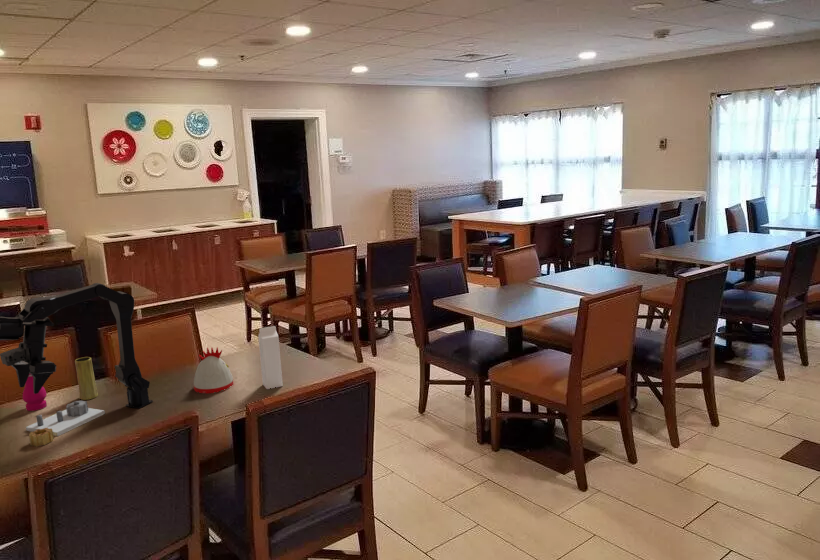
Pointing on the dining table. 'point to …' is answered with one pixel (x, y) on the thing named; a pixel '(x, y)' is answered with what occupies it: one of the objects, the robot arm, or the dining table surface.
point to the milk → (270, 357)
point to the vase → (86, 378)
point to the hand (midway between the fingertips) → (28, 390)
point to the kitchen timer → (212, 373)
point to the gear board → (67, 418)
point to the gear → (41, 437)
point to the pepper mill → (33, 396)
